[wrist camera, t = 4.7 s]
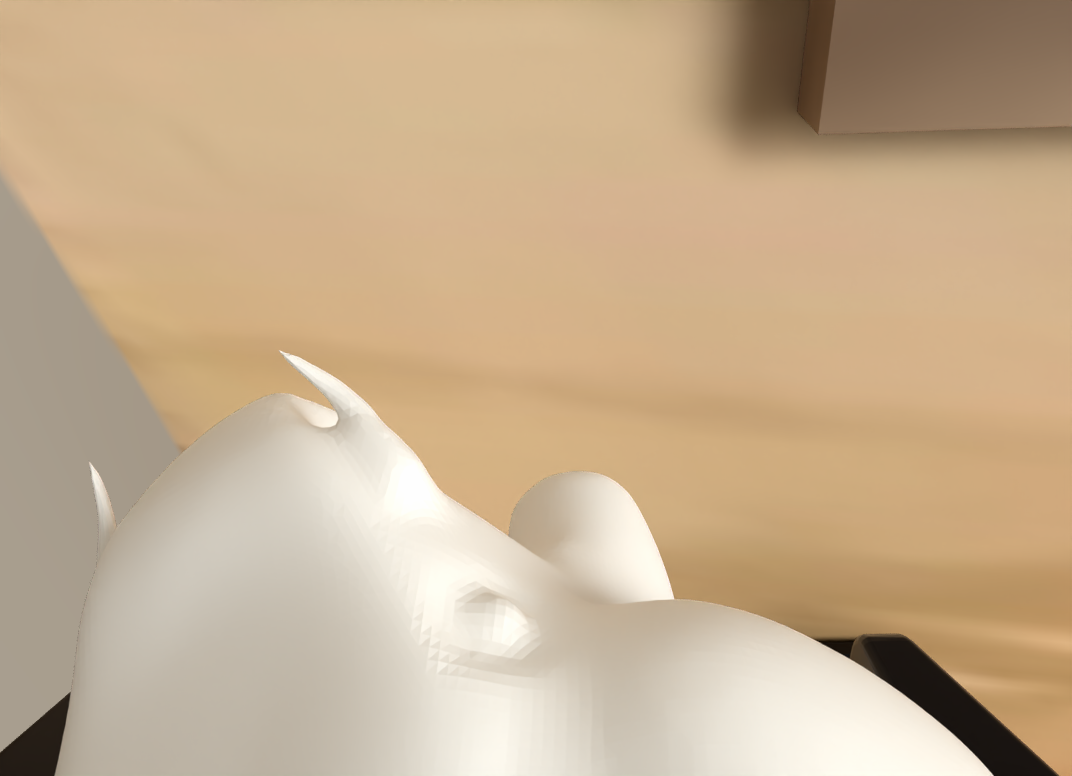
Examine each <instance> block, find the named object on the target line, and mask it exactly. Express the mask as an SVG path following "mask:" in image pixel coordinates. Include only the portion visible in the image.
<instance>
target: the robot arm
mask: <svg viewBox="0 0 1072 776" xmlns="http://www.w3.org/2000/svg"><path fill="white" fill-rule="evenodd" d="M821 644H823V645H825V646H827V647H829V648H831V649H833V650H834V651H836V652H838V653H840V654H842V655H843V656H845V657H847V658H849V659H851V660H852V661H854V662H856V663H857V664H859V665H861V666H862V667H864V668H865V669H867V670H868V671H870V672H872V673H873V674H875V675H876V676H878V677H879V678H881V679H882V680H884V681H885V682H887V683H888V684H889V685H891V686H892V687H894V688H895V689H897V690H898V691H899V692H901V693H902V694H903V695H905V696H906V697H907V698H909V699H910V700H911V701H913V702H914V703H915V704H917V705H918V706H919V707H921V708H922V709H923V710H924V711H926V712H927V713H928V714H929V715H931V716H932V717H933V718H934V719H936V720H937V721H938V722H939V723H941V724H942V725H943V726H944V727H945V728H947V729H948V730H949V731H950V732H951V733H952V734H953V735H955V736H956V737H957V738H958V739H959V740H960V741H961V742H962V743H963V744H964V745H965V746H966V747H967V748H968V749H969V750H970V751H971V752H972V753H973V754H974V755H975V756H976V757H977V758H978V759H979V760H980V761H981V762H982V763H983V764H984V765H985V766H986V768H987V769H988V770H989V771H990V772H991V773H992V774H993V776H1059V775H1058V774H1057V773H1056V772H1055V771H1054V770H1053V769H1052V768H1051V767H1049V766H1048V765H1047V764H1046V763H1045V762H1044V761H1043V760H1042V759H1041V758H1040V757H1038V756H1037V755H1036V754H1035V753H1034V752H1033V751H1032V750H1031V749H1030V748H1029V747H1028V746H1026V745H1025V744H1024V743H1023V742H1022V741H1021V740H1020V739H1019V738H1018V737H1017V736H1016V735H1014V734H1013V733H1012V732H1011V731H1010V730H1009V729H1008V728H1007V727H1006V726H1005V725H1004V724H1002V723H1001V722H1000V721H999V720H998V719H997V718H996V717H995V716H994V715H993V714H992V713H990V712H989V711H988V710H987V709H986V708H985V707H984V706H983V705H982V704H981V703H980V702H978V701H977V700H976V699H975V698H974V697H973V696H972V695H971V694H970V693H969V692H967V691H966V690H965V689H964V688H963V687H962V686H961V685H960V684H959V683H958V682H957V681H955V680H954V679H953V678H952V677H951V676H950V675H949V674H948V673H947V672H946V671H945V670H943V669H942V668H941V667H940V666H939V665H938V664H937V663H936V662H935V661H934V660H933V659H931V658H930V657H929V656H928V655H927V654H926V653H925V652H924V651H923V650H922V649H921V648H919V647H918V646H917V645H916V644H915V643H914V642H913V641H912V640H910V639H909V638H907V637H906V636H904V635H901V634H863V635H860V636H858V637H857V638H856V640H855V641H854V642H825V643H821ZM70 694H71V692H70V693H69V694H67V695H66V696H65V697H64V698H63V699H62V700H61V701H59V702H58V703H57V704H56V705H55V706H54V707H52V708H51V709H50V710H49V711H48V712H47V713H45V715H43V716H42V717H41V718H40V719H39V720H37V721H36V722H35V723H34V724H33V725H32V726H31V727H29V728H28V729H27V730H26V731H25V732H23V733H22V734H21V735H20V736H19V737H18V738H16V739H15V740H14V741H13V742H12V743H11V744H10V745H8V746H7V747H6V748H5V749H4V750H3V751H1V752H0V776H55V772H56V767H57V763H58V759H59V754H60V749H61V744H62V739H63V734H64V729H65V725H66V719H67V713H68V708H69V701H70Z"/></svg>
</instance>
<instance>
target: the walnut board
mask: <svg viewBox="0 0 1072 776" xmlns="http://www.w3.org/2000/svg"><path fill="white" fill-rule="evenodd" d="M797 112H798V113H799V114H800V115H801V116H802V117H803V118H804V120H805V121H806V122H807V123H808V124H809V125H810V126H811V127H812V128H813V129H814V130H815V131H816V132H817V134H847V133H878V132H908V131H939V130H970V129H1000V128H1031V127H1062V126H1072V0H810V4H809V13H808V21H807V30H806V39H805V47H804V56H803V64H802V73H801V82H800V90H799V99H798V108H797Z"/></svg>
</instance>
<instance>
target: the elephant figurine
mask: <svg viewBox="0 0 1072 776" xmlns="http://www.w3.org/2000/svg"><path fill="white" fill-rule="evenodd" d="M279 352H280V353H281V354H282V355H283V356H284V358H285V359H286V360H287V361H288V362H289V363H290V364H291V365H292V366H293V367H294V368H295V369H296V370H297V371H299V372H300V373H301V374H302V375H303V376H304V377H305V378H307V379H308V380H309V381H310V382H311V383H312V384H313V385H314V386H315V387H316V388H317V389H318V390H319V391H320V392H321V393H323V395H324V396H325V397H326V398H327V399H328V401H329V402H330V403H331V405H332V406H333V408H334V409H335V411H334V410H332V409H329V408H327V407H324V406H322V405H320V404H317V403H314V402H312V401H309V400H306V399H303V398H300V397H298V396H295V395H292V394H287V393H275V394H271V395H268V396H265V397H262V398H260V399H258V400H256V401H254V402H252V403H250V404H248V405H246V406H244V407H242V408H241V409H239V410H237V411H236V412H234V413H233V414H231V415H229V416H228V417H226V418H225V419H223V420H222V421H220V422H219V423H218V424H216V425H215V426H214V427H212V428H211V429H210V430H208V431H207V432H206V433H205V434H203V435H202V436H201V437H200V438H199V439H197V440H196V441H195V442H194V443H193V444H191V445H190V446H189V447H188V448H187V449H186V450H185V451H184V452H182V453H181V454H180V455H179V456H178V457H177V458H176V459H175V460H174V461H173V462H172V463H171V464H170V465H169V466H168V467H167V468H166V469H165V470H164V472H163V473H162V474H161V475H160V476H159V477H158V478H157V479H156V480H155V481H154V482H153V483H152V485H151V486H150V487H149V488H148V489H147V490H146V491H145V492H144V493H143V495H142V496H141V497H140V499H139V500H138V501H137V502H136V503H135V505H134V506H133V507H132V508H131V510H130V511H129V512H128V513H127V515H126V516H125V517H124V518H123V520H122V521H121V522H120V524H119V525H118V526H117V525H116V521H115V517H114V513H113V509H112V505H111V502H110V499H109V496H108V494H107V491H106V489H105V486H104V484H103V481H102V479H101V478H100V475H99V474H98V472H97V471H96V469H95V468H94V467H93V465H92V464H91V463H90V462H89V467H90V472H91V478H92V484H93V489H94V496H95V501H96V506H97V515H98V548H97V566H96V570H95V572H94V575H93V578H92V581H91V584H90V587H89V590H88V593H87V597H86V600H85V604H84V608H83V612H82V617H81V621H80V627H79V633H78V640H77V648H76V658H75V665H74V675H73V681H72V688H71V694H70V701H69V708H68V713H67V719H66V725H65V729H64V734H63V739H62V744H61V749H60V754H59V759H58V763H57V767H56V772H55V776H993V774H992V773H991V772H990V771H989V770H988V769H987V768H986V766H985V765H984V764H983V763H982V762H981V761H980V760H979V759H978V758H977V757H976V756H975V755H974V754H973V753H972V752H971V751H970V750H969V749H968V748H967V747H966V746H965V745H964V744H963V743H962V742H961V741H960V740H959V739H958V738H957V737H956V736H955V735H953V734H952V733H951V732H950V731H949V730H948V729H947V728H945V727H944V726H943V725H942V724H941V723H939V722H938V721H937V720H936V719H934V718H933V717H932V716H931V715H929V714H928V713H927V712H926V711H924V710H923V709H922V708H921V707H919V706H918V705H917V704H915V703H914V702H913V701H911V700H910V699H909V698H907V697H906V696H905V695H903V694H902V693H901V692H899V691H898V690H897V689H895V688H894V687H892V686H891V685H889V684H888V683H887V682H885V681H884V680H882V679H881V678H879V677H878V676H876V675H875V674H873V673H872V672H870V671H868V670H867V669H865V668H864V667H862V666H861V665H859V664H857V663H856V662H854V661H852V660H851V659H849V658H847V657H845V656H843V655H842V654H840V653H838V652H836V651H834V650H833V649H831V648H829V647H827V646H825V645H823V644H821V643H819V642H817V641H815V640H813V639H811V638H810V637H808V636H806V635H804V634H802V633H799V632H797V631H795V630H793V629H791V628H789V627H787V626H784V625H782V624H779V623H777V622H775V621H772V620H770V619H767V618H764V617H762V616H759V615H756V614H753V613H750V612H747V611H743V610H740V609H736V608H732V607H728V606H724V605H719V604H715V603H709V602H703V601H697V600H687V599H674V597H673V593H672V589H671V586H670V582H669V579H668V576H667V573H666V570H665V567H664V564H663V561H662V559H661V556H660V554H659V551H658V548H657V546H656V544H655V541H654V539H653V537H652V534H651V532H650V530H649V528H648V526H647V524H646V522H645V520H644V518H643V516H642V514H641V512H640V510H639V508H638V507H637V505H636V503H635V502H634V500H633V499H632V497H631V496H630V495H629V493H628V492H627V491H626V490H625V489H624V488H623V487H622V486H620V485H619V484H618V483H617V482H615V481H614V480H612V479H610V478H609V477H607V476H604V475H602V474H598V473H595V472H586V471H572V472H565V473H560V474H556V475H552V476H550V477H547V478H545V479H543V480H541V481H540V482H538V483H537V484H536V485H534V486H533V487H532V488H531V489H530V490H528V491H527V492H526V493H525V494H524V495H523V496H522V498H521V499H520V500H519V501H518V503H517V504H516V506H515V508H514V511H513V513H512V517H511V521H510V527H509V536H507V535H506V534H504V533H503V532H501V531H500V530H498V529H497V528H496V527H494V526H493V525H491V524H490V523H488V522H487V521H485V520H484V519H482V518H481V517H479V516H478V515H476V514H475V513H473V512H472V511H470V510H469V509H467V508H466V507H464V506H462V505H461V504H459V503H458V502H456V501H455V500H453V499H452V498H450V497H449V496H447V495H446V494H444V493H443V492H442V491H441V490H440V489H439V488H438V487H437V486H436V484H435V483H434V481H433V480H432V478H431V477H430V475H429V473H428V472H427V470H426V469H425V467H424V465H423V464H422V462H421V461H420V459H419V458H418V457H417V455H416V454H415V453H414V452H413V450H412V449H411V448H410V447H409V446H408V445H407V444H406V443H405V442H404V441H403V440H402V439H401V438H400V437H399V436H398V435H396V434H395V433H394V432H393V431H392V430H391V429H390V428H388V427H387V426H386V425H385V424H384V422H383V421H382V420H381V419H380V418H379V417H378V416H377V414H376V413H375V412H374V410H373V409H372V408H371V407H370V406H369V405H368V404H367V403H366V402H365V401H364V400H363V399H362V398H361V397H360V396H358V395H357V394H356V393H355V392H354V391H353V390H351V389H350V388H349V387H348V386H346V385H345V384H344V383H342V382H341V381H340V380H338V379H337V378H335V377H334V376H332V375H330V374H329V373H327V372H325V371H323V370H322V369H320V368H318V367H316V366H314V365H312V364H310V363H309V362H307V361H305V360H303V359H301V358H300V357H297V356H294V355H291V354H288V353H285V352H282V351H279Z"/></svg>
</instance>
